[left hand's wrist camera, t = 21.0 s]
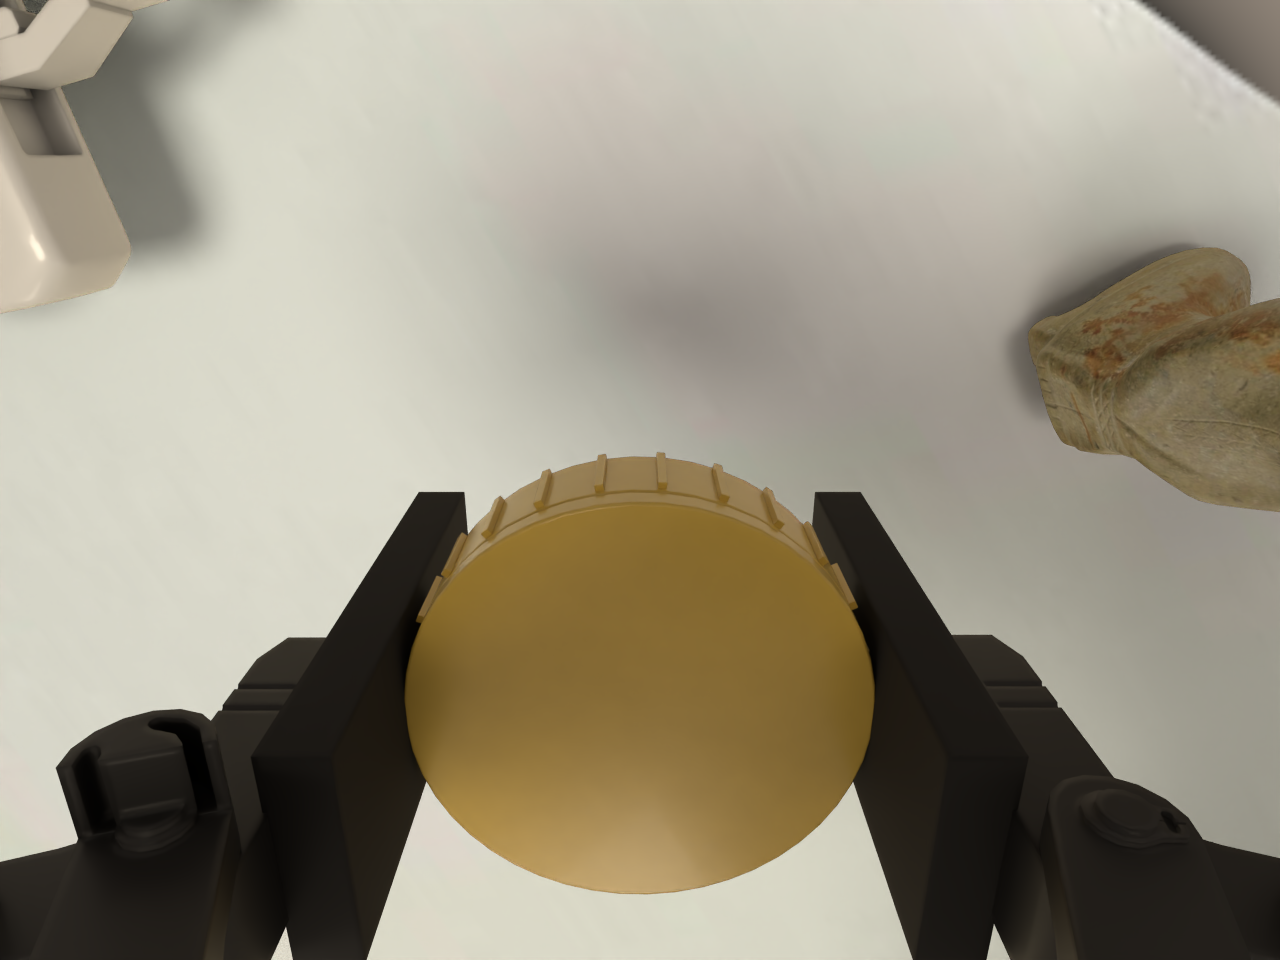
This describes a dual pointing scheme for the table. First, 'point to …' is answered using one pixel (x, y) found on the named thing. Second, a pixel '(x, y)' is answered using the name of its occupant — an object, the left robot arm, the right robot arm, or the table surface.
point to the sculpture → (1173, 377)
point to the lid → (639, 678)
